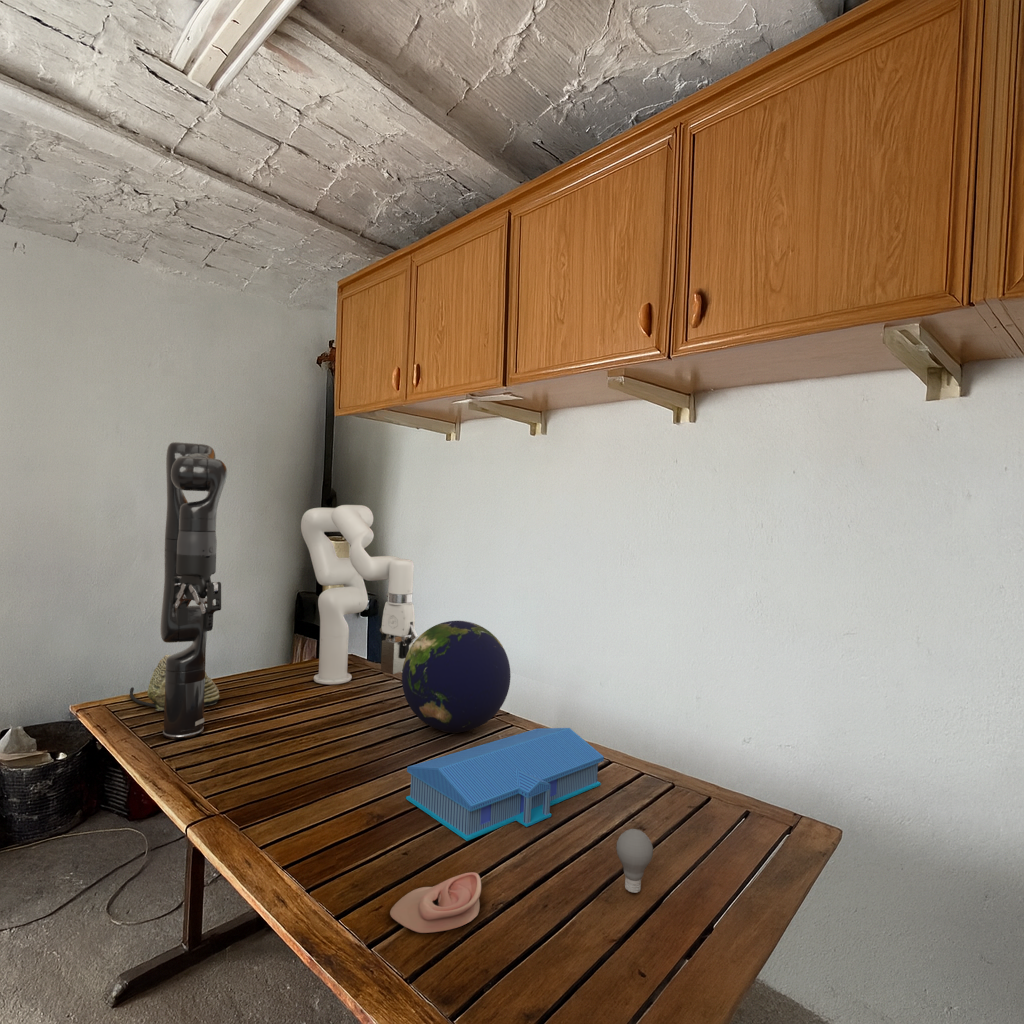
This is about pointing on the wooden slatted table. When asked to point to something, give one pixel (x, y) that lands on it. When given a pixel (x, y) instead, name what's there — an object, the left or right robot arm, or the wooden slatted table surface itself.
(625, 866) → the light bulb
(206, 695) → the fossil
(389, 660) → the block
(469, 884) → the anatomical model
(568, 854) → the wooden slatted table surface
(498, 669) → the globe
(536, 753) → the model building
